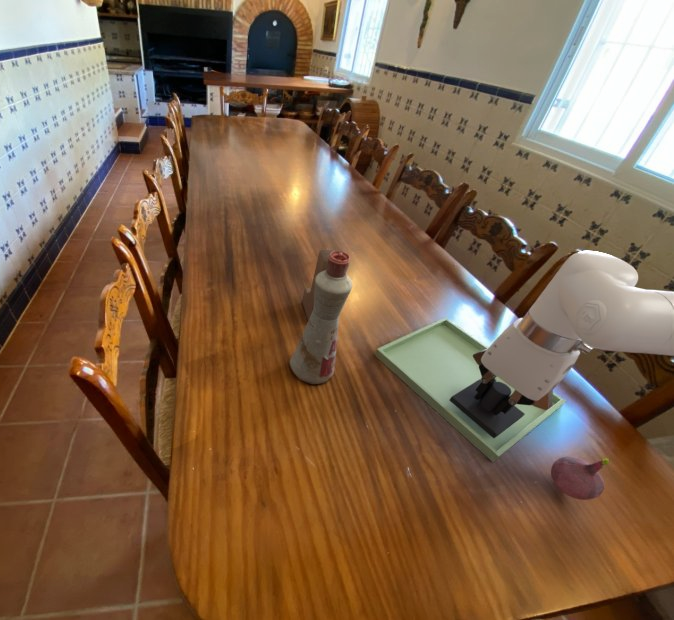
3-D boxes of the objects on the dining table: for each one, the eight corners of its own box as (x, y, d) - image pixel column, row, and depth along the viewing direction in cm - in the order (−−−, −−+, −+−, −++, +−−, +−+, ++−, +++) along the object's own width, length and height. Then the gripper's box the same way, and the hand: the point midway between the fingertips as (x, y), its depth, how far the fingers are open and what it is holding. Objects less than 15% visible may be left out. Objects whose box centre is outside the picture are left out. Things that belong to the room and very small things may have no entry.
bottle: (289, 351, 77) (312, 235, 59) (331, 356, 77) (367, 241, 59) (288, 383, 71) (314, 263, 53) (334, 389, 70) (376, 270, 52)
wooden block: (301, 301, 91) (314, 238, 79) (318, 301, 91) (334, 239, 80) (308, 325, 84) (324, 260, 73) (327, 325, 85) (345, 261, 73)
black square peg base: (521, 417, 65) (541, 397, 62) (493, 438, 62) (513, 418, 58) (476, 382, 71) (492, 361, 67) (448, 400, 67) (463, 379, 63)
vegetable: (569, 515, 55) (616, 486, 48) (530, 478, 59) (569, 447, 52) (591, 499, 57) (639, 469, 50) (552, 464, 61) (592, 432, 55)
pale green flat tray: (560, 407, 71) (566, 401, 69) (492, 462, 61) (498, 456, 59) (441, 323, 88) (445, 317, 87) (374, 355, 78) (376, 348, 77)
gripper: (624, 358, 50) (545, 430, 62) (510, 294, 60) (461, 366, 72) (601, 378, 47) (522, 449, 59) (485, 306, 57) (438, 379, 69)
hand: (489, 403), depth 65 cm, fingers closed on black square peg base, 3 cm apart
